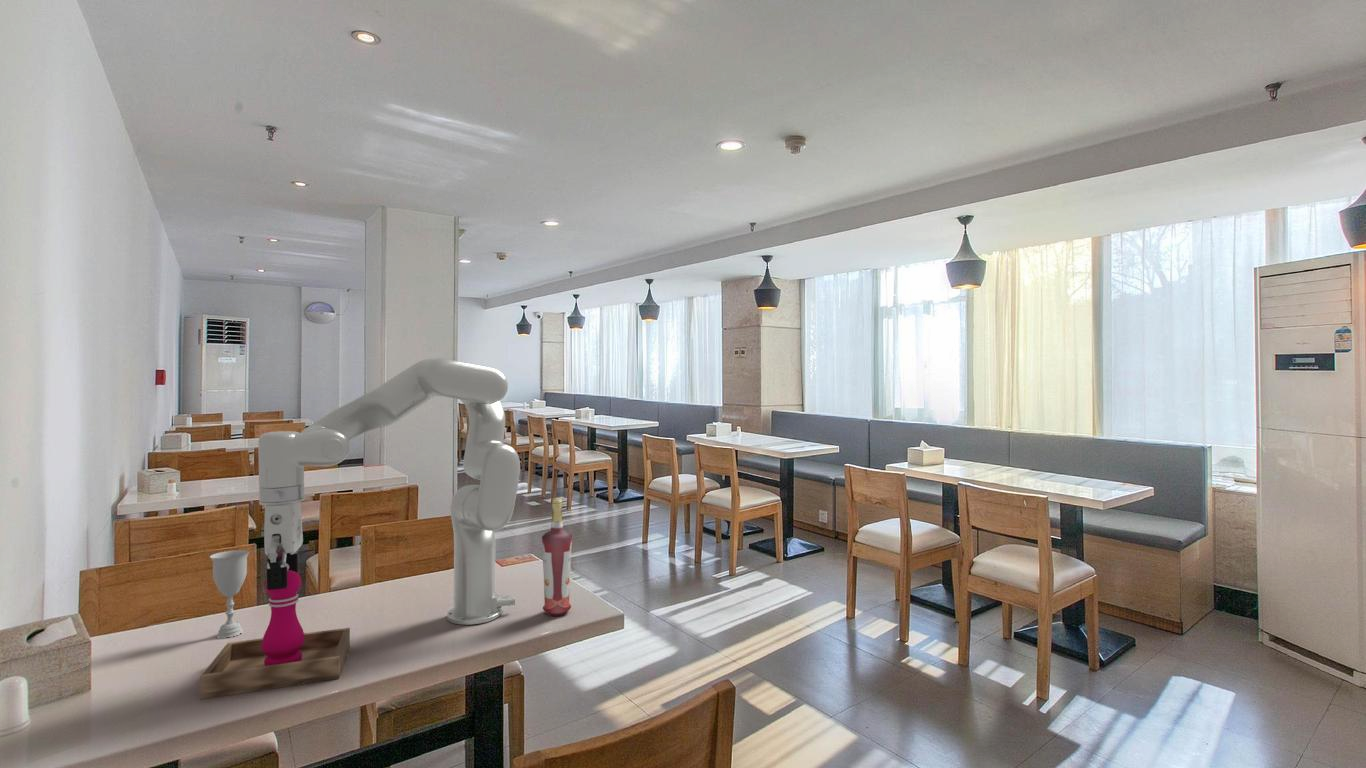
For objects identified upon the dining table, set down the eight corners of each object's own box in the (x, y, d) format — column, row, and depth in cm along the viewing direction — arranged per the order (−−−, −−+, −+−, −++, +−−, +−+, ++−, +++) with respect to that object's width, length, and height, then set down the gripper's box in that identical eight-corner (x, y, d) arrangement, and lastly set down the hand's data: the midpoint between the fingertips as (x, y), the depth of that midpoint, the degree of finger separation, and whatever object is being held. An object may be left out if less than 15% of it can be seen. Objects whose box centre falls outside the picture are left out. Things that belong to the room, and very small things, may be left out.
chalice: (207, 642, 138) (206, 560, 138) (213, 631, 144) (213, 552, 144) (247, 636, 141) (247, 555, 141) (251, 626, 147) (251, 548, 147)
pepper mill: (284, 674, 121) (284, 569, 121) (251, 671, 122) (252, 567, 122) (313, 658, 128) (313, 559, 128) (282, 655, 129) (282, 557, 129)
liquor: (573, 616, 153) (573, 501, 153) (542, 619, 152) (542, 502, 152) (571, 606, 161) (571, 495, 160) (541, 608, 159) (541, 497, 159)
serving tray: (349, 646, 136) (349, 627, 136) (338, 678, 121) (338, 657, 121) (227, 662, 128) (227, 642, 128) (200, 699, 113) (200, 677, 113)
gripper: (294, 500, 118) (295, 592, 118) (312, 486, 134) (313, 566, 134) (247, 504, 115) (248, 597, 115) (270, 488, 131) (271, 571, 132)
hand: (283, 581), depth 125 cm, fingers open, 9 cm apart
